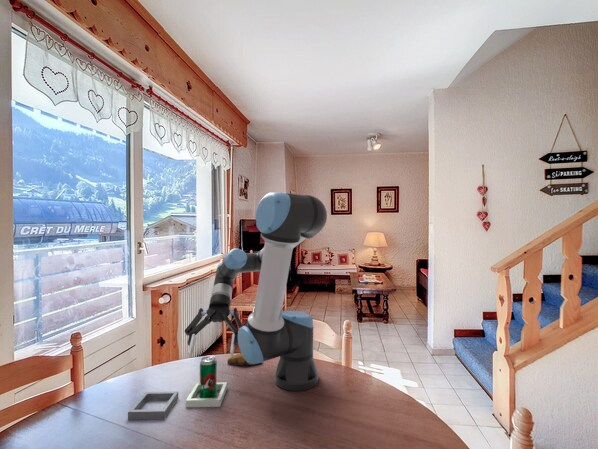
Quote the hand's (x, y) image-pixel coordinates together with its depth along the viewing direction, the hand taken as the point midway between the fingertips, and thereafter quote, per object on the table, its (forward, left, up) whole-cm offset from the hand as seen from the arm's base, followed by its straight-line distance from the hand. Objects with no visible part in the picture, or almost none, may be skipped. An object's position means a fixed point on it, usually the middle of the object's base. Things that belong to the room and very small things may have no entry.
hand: (210, 354), depth 96 cm
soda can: (-1, +5, -11) cm, 12 cm away
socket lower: (0, +5, -11) cm, 12 cm away
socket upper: (+14, +10, -11) cm, 20 cm away
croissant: (-8, -18, -12) cm, 23 cm away
